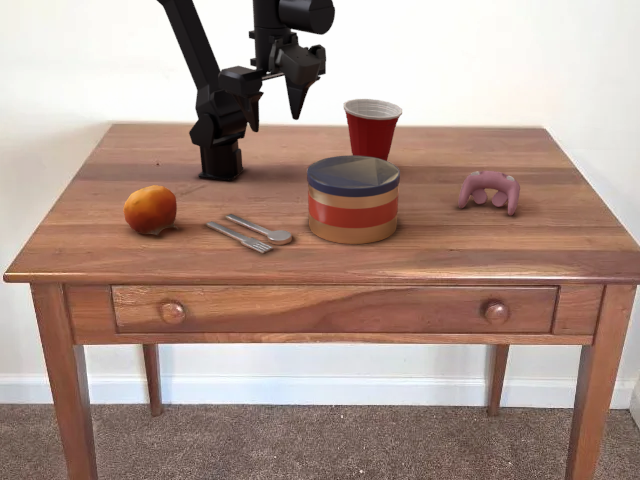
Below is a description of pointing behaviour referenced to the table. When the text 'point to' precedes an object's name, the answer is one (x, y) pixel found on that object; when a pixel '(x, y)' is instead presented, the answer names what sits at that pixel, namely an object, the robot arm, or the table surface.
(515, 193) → the video game controller
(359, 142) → the plastic cup
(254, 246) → the fork
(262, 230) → the spoon
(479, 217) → the table surface
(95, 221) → the table surface
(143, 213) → the fruit
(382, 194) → the tin
